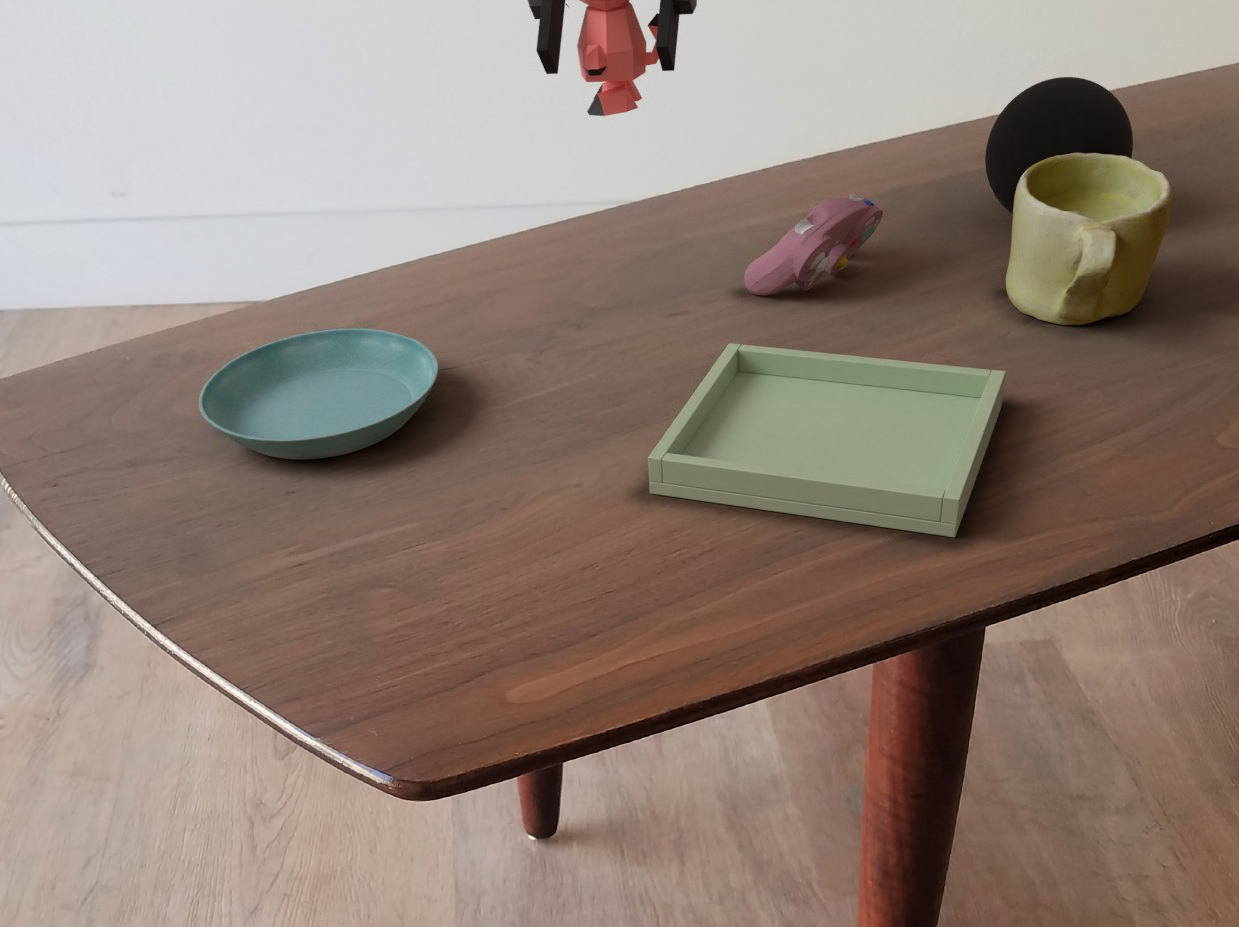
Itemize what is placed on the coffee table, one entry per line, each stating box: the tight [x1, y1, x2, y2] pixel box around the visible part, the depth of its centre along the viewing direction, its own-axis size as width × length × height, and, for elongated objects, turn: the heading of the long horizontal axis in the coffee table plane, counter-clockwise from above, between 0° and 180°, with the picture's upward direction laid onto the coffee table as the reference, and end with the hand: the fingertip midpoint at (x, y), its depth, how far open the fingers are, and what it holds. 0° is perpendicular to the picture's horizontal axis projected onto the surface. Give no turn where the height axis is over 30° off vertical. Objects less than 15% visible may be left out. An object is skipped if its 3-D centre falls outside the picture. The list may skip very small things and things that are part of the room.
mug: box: [1005, 153, 1173, 326], centre depth 88 cm, size 12×10×10 cm
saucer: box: [198, 327, 439, 460], centre depth 85 cm, size 15×15×3 cm
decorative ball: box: [984, 76, 1134, 215], centre depth 99 cm, size 10×10×10 cm
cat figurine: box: [565, 0, 659, 117], centre depth 88 cm, size 7×7×12 cm
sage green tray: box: [647, 342, 1007, 538], centre depth 77 cm, size 17×15×2 cm
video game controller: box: [743, 191, 884, 296], centre depth 95 cm, size 10×5×7 cm, turn 137°
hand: (605, 60), depth 86 cm, fingers closed on cat figurine, 7 cm apart
